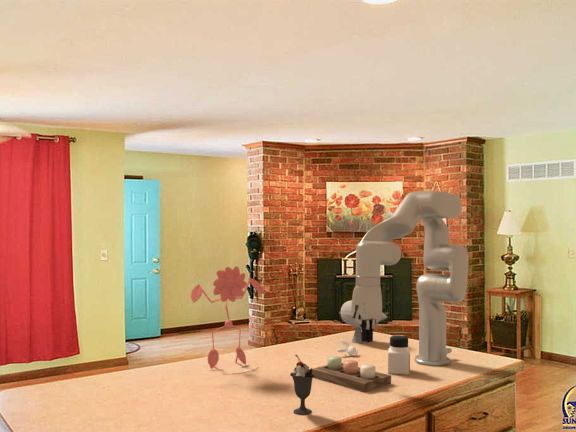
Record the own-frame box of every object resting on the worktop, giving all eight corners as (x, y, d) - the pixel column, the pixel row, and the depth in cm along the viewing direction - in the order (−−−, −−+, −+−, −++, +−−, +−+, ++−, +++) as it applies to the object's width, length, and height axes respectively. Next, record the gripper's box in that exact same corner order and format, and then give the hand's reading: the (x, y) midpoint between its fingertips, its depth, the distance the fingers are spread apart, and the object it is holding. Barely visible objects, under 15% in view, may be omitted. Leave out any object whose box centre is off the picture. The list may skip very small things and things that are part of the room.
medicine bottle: (409, 375, 189) (410, 338, 189) (387, 373, 191) (388, 337, 191) (409, 369, 196) (409, 334, 196) (388, 368, 198) (388, 333, 198)
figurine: (186, 366, 198) (188, 265, 198) (256, 359, 209) (257, 263, 208) (199, 379, 184) (201, 270, 184) (273, 370, 195) (275, 268, 195)
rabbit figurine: (357, 357, 212) (337, 347, 213) (353, 363, 215) (334, 353, 216) (361, 346, 217) (342, 336, 218) (357, 352, 219) (338, 342, 220)
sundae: (288, 408, 156) (289, 352, 156) (313, 407, 157) (313, 352, 157) (291, 416, 150) (291, 358, 150) (316, 415, 150) (316, 358, 150)
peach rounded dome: (349, 370, 186) (350, 359, 186) (360, 373, 183) (360, 362, 183) (340, 372, 183) (340, 361, 183) (351, 375, 180) (351, 364, 180)
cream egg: (366, 374, 181) (366, 363, 181) (378, 377, 178) (378, 366, 178) (357, 377, 178) (357, 366, 178) (368, 380, 175) (368, 369, 175)
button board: (338, 369, 196) (338, 362, 196) (391, 383, 179) (391, 375, 179) (311, 376, 187) (311, 368, 187) (364, 392, 171) (364, 383, 171)
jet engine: (355, 349, 226) (355, 304, 226) (336, 338, 245) (336, 297, 245) (389, 347, 230) (389, 303, 230) (368, 336, 250) (368, 296, 250)
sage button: (334, 366, 191) (334, 355, 191) (344, 368, 188) (344, 358, 188) (324, 368, 188) (324, 357, 188) (334, 371, 185) (334, 360, 185)
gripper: (373, 279, 186) (372, 336, 185) (342, 282, 176) (341, 342, 175) (392, 281, 180) (391, 340, 180) (361, 284, 170) (360, 346, 170)
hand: (367, 341), depth 178 cm, fingers closed
